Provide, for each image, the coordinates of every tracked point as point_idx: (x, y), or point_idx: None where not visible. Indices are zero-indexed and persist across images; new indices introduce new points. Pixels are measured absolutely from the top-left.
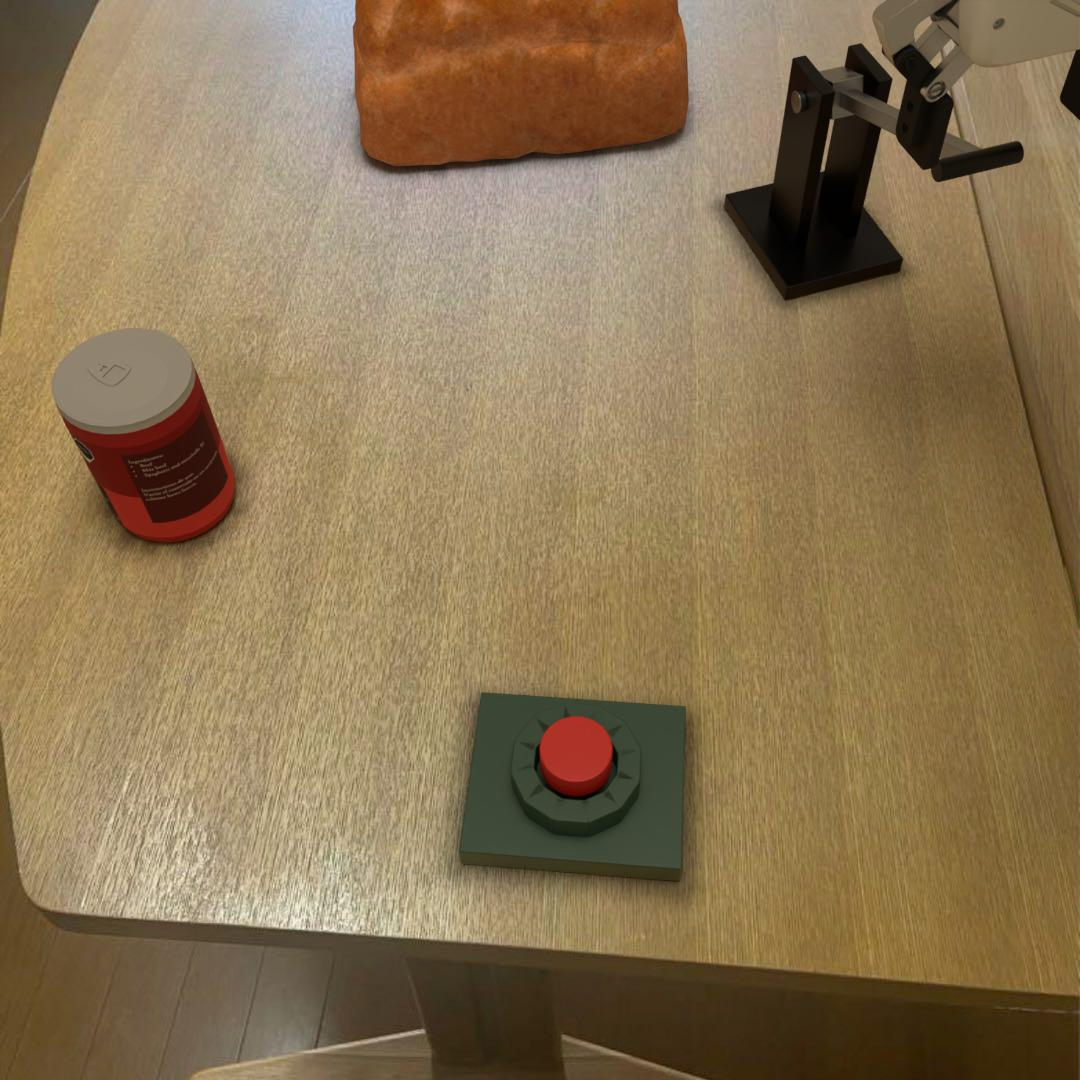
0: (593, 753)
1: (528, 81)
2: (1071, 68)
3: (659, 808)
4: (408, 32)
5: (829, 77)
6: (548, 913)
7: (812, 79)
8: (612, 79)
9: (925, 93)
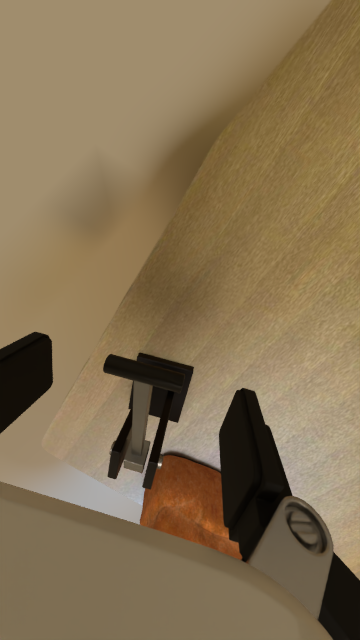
0: None
1: None
2: (20, 412)
3: None
4: None
5: (139, 468)
6: None
7: (153, 474)
8: (196, 499)
9: (327, 531)
